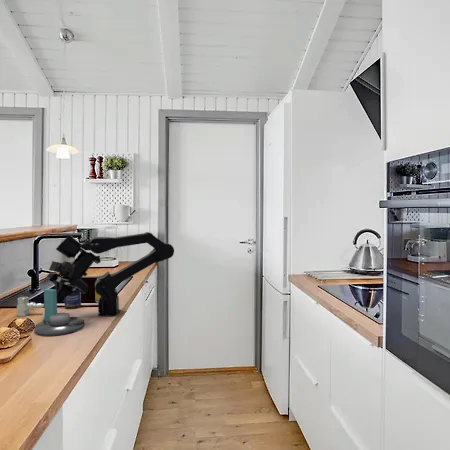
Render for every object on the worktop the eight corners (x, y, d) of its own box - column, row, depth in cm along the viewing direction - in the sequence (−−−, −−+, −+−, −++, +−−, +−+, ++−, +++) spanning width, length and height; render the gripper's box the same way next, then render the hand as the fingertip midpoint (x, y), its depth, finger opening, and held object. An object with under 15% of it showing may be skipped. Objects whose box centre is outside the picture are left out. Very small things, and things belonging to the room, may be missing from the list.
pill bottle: (65, 309, 140) (64, 281, 140) (64, 306, 146) (63, 279, 145) (82, 307, 143) (81, 280, 142) (80, 304, 148) (79, 277, 148)
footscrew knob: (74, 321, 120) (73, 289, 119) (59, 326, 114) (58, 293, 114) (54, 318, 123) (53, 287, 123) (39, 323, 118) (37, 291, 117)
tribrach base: (94, 323, 123) (94, 310, 122) (60, 338, 109) (59, 323, 108) (60, 319, 128) (59, 306, 128) (23, 333, 114) (22, 319, 114)
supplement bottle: (101, 303, 148) (100, 280, 148) (92, 302, 151) (92, 279, 151) (111, 301, 153) (111, 278, 153) (103, 299, 156) (102, 277, 155)
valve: (13, 318, 130) (48, 316, 132) (13, 300, 130) (48, 298, 132) (21, 313, 137) (54, 311, 139) (20, 295, 136) (54, 294, 138)
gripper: (50, 250, 130) (19, 286, 121) (79, 254, 118) (47, 294, 110) (71, 268, 136) (43, 303, 128) (101, 274, 125) (72, 313, 117)
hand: (50, 303), depth 121 cm, fingers closed, pressing on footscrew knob
